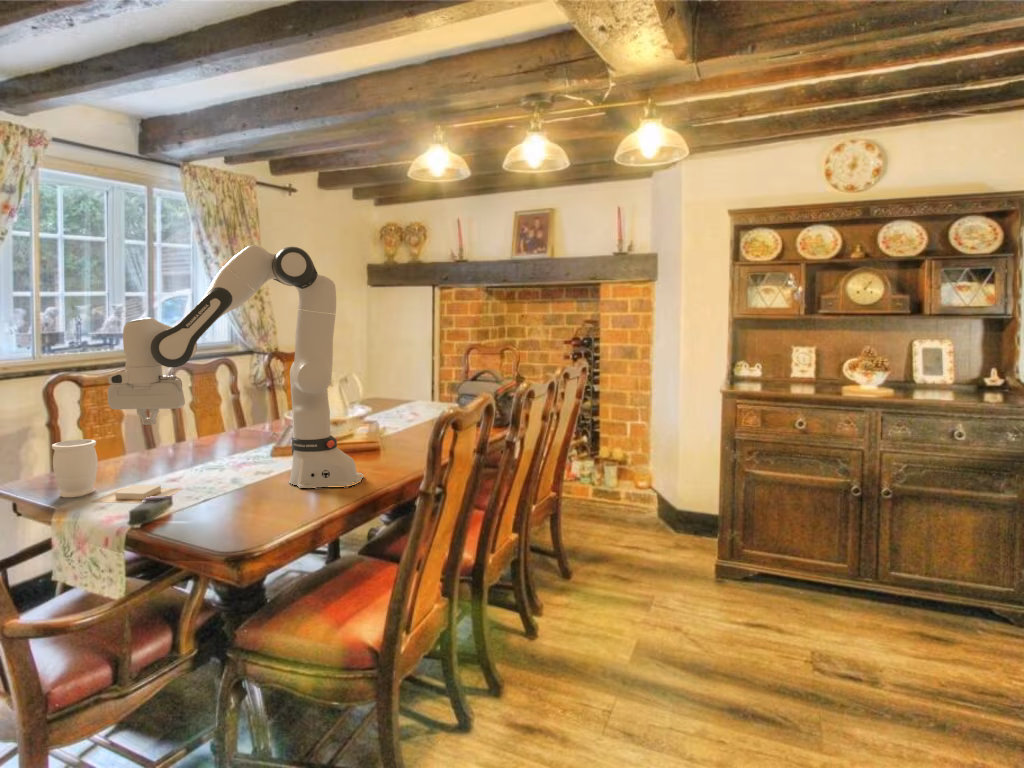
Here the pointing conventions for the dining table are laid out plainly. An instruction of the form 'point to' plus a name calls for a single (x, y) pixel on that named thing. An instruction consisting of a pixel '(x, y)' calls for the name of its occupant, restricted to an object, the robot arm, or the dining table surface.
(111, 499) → the cork mat
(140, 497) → the beige flat block
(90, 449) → the jar
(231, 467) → the dining table surface
